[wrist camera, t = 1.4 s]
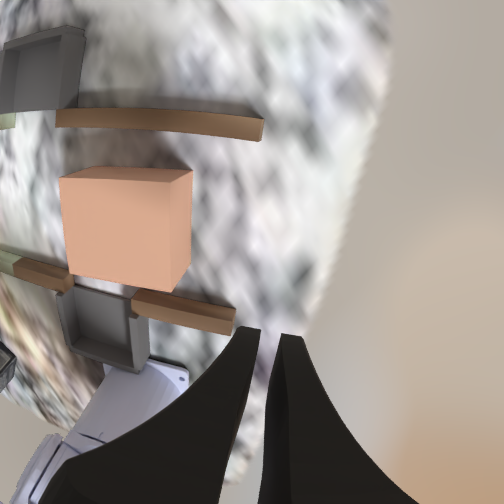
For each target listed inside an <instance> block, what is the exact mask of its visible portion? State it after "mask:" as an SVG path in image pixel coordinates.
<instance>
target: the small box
mask: <svg viewBox="0 0 504 504" xmlns="http://www.w3.org/2000/svg"><path fill="white" fill-rule="evenodd" d="M16 360H17V358H16V356H15V355H14V354H13V353H12V352H10V351H9V349H7V348H6V347H5V346H4V345H3V344H2V343H1V342H0V393H1V391H2V390H3V389H4V388H5V387H6V385H7V384H8V383H9V382H10V381H11V380H12V378H13V377H14V371H15V365H16Z"/></svg>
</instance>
